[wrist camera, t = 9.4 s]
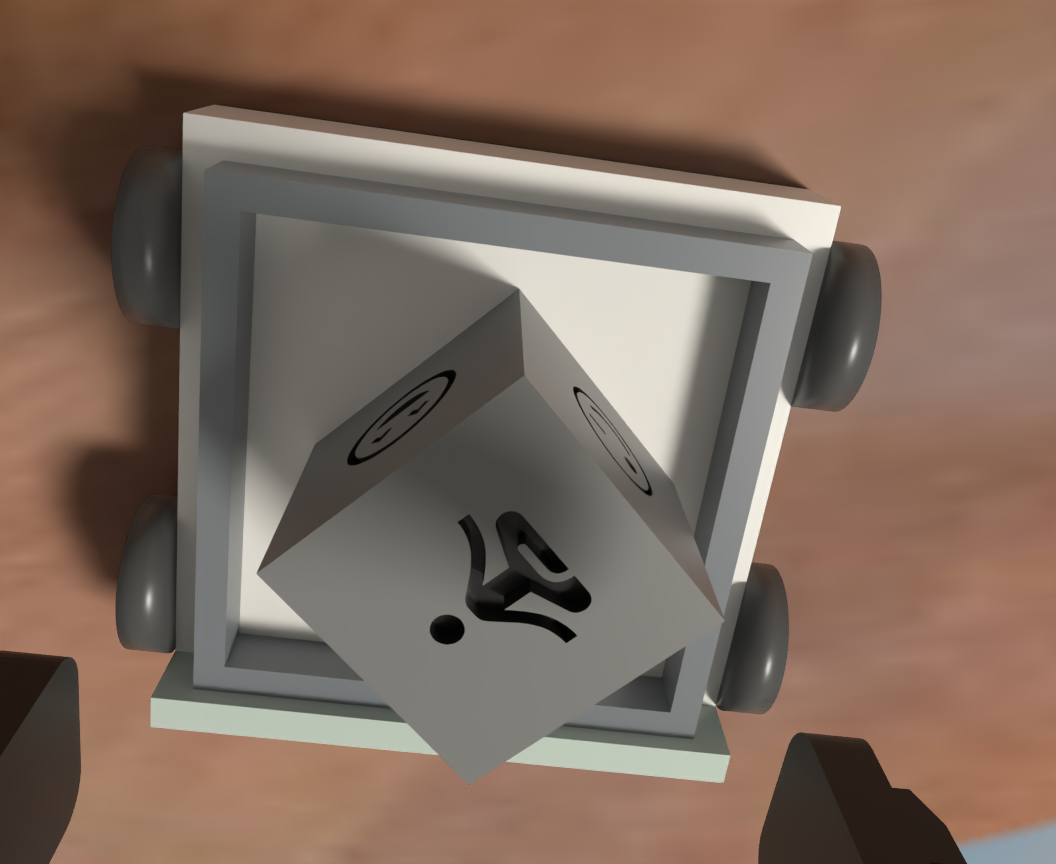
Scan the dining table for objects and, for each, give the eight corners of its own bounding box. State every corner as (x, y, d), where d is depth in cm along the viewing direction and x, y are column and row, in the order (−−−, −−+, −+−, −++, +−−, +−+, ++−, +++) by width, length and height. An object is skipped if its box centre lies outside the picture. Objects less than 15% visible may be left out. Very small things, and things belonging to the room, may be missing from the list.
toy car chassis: (171, 97, 19) (100, 112, 16) (849, 195, 20) (918, 228, 17) (166, 622, 23) (109, 722, 20) (725, 682, 24) (760, 786, 21)
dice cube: (673, 483, 20) (725, 621, 15) (476, 618, 21) (468, 785, 16) (519, 288, 18) (525, 375, 14) (315, 443, 20) (256, 573, 15)
